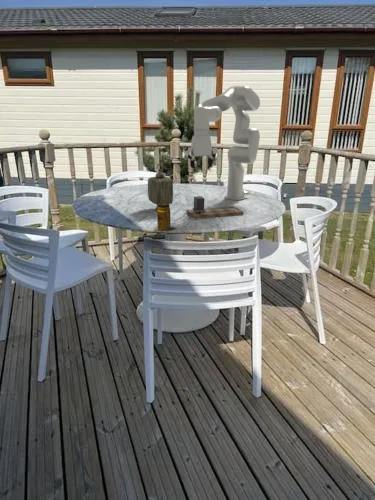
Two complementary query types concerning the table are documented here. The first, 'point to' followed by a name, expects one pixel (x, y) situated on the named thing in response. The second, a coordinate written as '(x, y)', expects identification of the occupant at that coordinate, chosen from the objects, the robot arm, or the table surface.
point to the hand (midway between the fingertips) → (201, 167)
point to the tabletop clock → (160, 188)
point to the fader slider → (199, 204)
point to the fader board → (215, 212)
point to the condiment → (164, 217)
